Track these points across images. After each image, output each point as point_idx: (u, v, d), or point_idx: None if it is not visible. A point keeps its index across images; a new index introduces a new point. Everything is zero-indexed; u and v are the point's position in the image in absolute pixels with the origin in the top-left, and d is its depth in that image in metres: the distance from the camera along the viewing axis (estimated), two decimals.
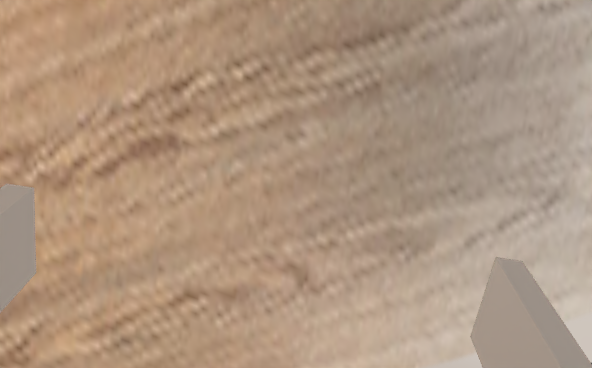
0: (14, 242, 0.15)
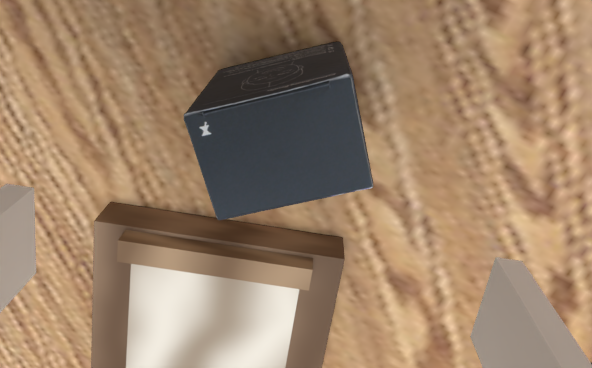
0: (14, 242, 0.15)
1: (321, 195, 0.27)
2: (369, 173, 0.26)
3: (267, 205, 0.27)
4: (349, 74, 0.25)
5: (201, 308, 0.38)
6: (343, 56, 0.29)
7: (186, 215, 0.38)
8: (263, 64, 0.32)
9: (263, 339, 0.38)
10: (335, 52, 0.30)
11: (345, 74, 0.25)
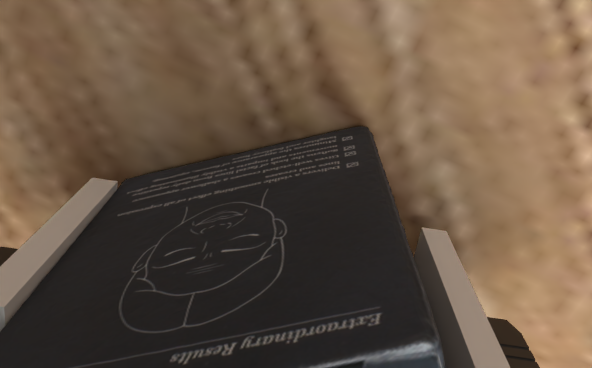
0: None
1: None
2: None
3: None
4: (432, 342, 0.07)
5: None
6: (386, 198, 0.12)
7: None
8: (205, 184, 0.15)
9: None
10: (363, 172, 0.13)
11: (418, 342, 0.07)
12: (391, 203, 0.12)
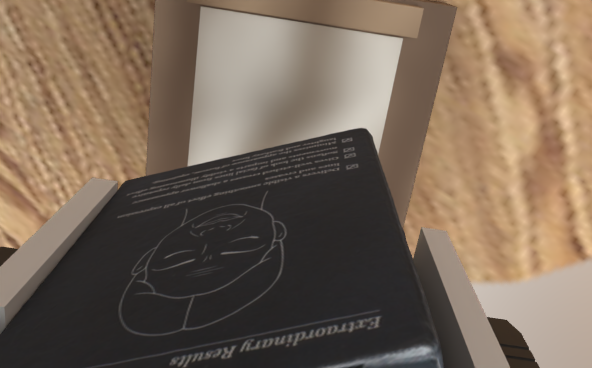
0: None
1: None
2: None
3: None
4: (431, 345, 0.07)
5: (281, 78, 0.32)
6: (386, 201, 0.12)
7: None
8: (205, 186, 0.15)
9: (353, 120, 0.32)
10: (363, 174, 0.13)
11: (418, 346, 0.07)
12: (391, 205, 0.12)
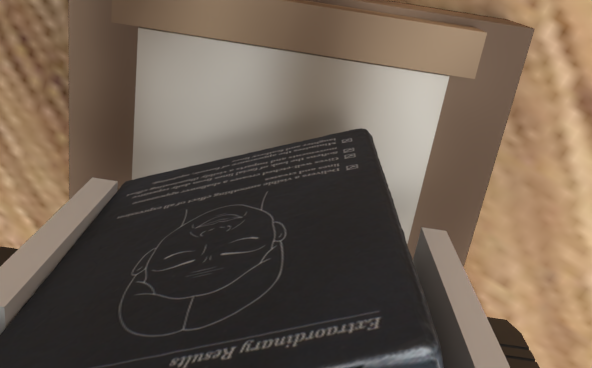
0: None
1: None
2: None
3: None
4: (431, 346, 0.07)
5: (264, 135, 0.21)
6: (386, 201, 0.12)
7: None
8: (205, 186, 0.15)
9: None
10: (362, 175, 0.13)
11: (418, 347, 0.07)
12: (390, 206, 0.12)
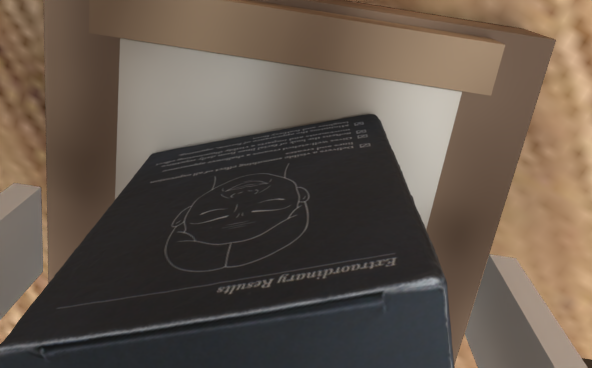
0: (22, 241, 0.15)
1: None
2: None
3: None
4: (439, 278, 0.09)
5: None
6: (397, 173, 0.13)
7: None
8: (230, 158, 0.17)
9: None
10: (375, 152, 0.15)
11: (428, 278, 0.09)
12: (401, 177, 0.13)
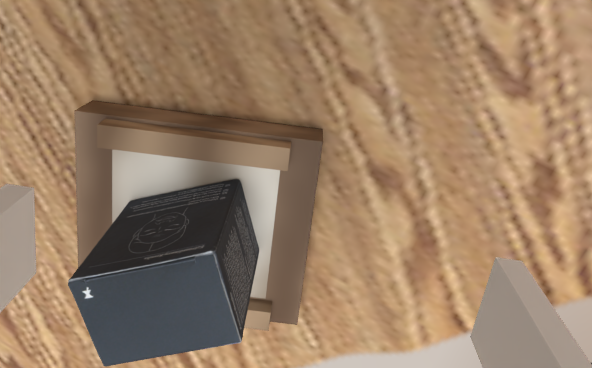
0: (14, 242, 0.15)
1: (195, 348, 0.30)
2: (236, 331, 0.29)
3: (147, 355, 0.30)
4: (212, 251, 0.28)
5: None
6: (226, 212, 0.32)
7: (167, 111, 0.39)
8: (164, 204, 0.35)
9: None
10: (224, 201, 0.34)
11: (209, 251, 0.28)
12: (227, 214, 0.32)
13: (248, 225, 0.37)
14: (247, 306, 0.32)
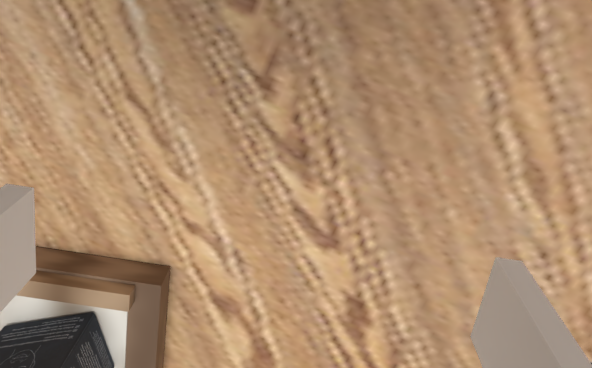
0: (14, 242, 0.15)
1: None
2: None
3: None
4: None
5: None
6: (65, 357, 0.40)
7: (39, 248, 0.47)
8: (26, 337, 0.43)
9: None
10: (70, 342, 0.42)
11: None
12: (65, 358, 0.40)
13: (99, 352, 0.45)
14: None
